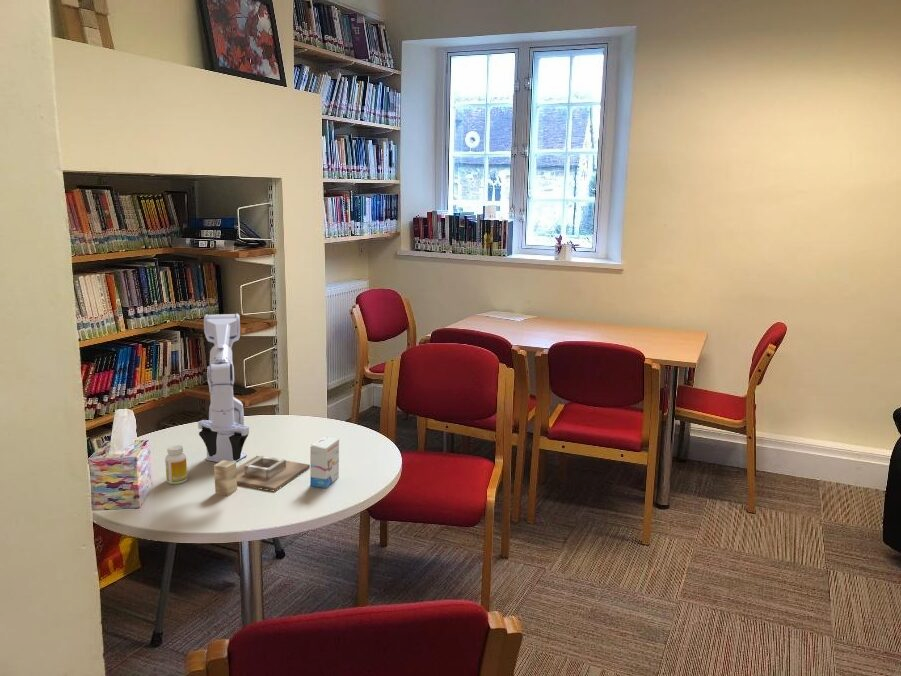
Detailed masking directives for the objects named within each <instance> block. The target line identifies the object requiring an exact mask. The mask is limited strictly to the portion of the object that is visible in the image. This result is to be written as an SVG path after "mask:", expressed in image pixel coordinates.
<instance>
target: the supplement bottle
mask: <svg viewBox="0 0 901 676" xmlns="http://www.w3.org/2000/svg"><path fill="white" fill-rule="evenodd" d="M166 450H167V454H166V456H165V458H164V461H165V476H166V482H167V483H168V484H170V485H178V484H179V485H180V484H182V483H185V482H186V481H187V480H188V471H187V470H188V468H187V465H188V464H187V455H186V454H185V452H184V447H183V446H182V445H180V444H176V445H175V444H174V445H169V446H168V447H167V449H166Z"/></svg>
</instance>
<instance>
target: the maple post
mask: <svg viewBox="0 0 901 676" xmlns="http://www.w3.org/2000/svg"><path fill="white" fill-rule="evenodd" d="M236 468H237V462H231V461H226V460H223V461H221V462H216V464H214V465H213V469H214V490H215V491H214V492H215V493H216V495H221V494H222V495H221V496H227V497H228V495H229V496H230V495H232V494H233V492H234V493H235V492H236V490H237V491H238V485H237V474H236ZM215 493H214V494H215Z"/></svg>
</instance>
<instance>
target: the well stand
mask: <svg viewBox="0 0 901 676" xmlns="http://www.w3.org/2000/svg"><path fill="white" fill-rule="evenodd" d="M308 468H309V469H310V464H307V463H301V462H295V461H290V460H286V459H282V458H276V457H270V456H265V455H256V456H254V457H253V458H251V459H249V460H247V461H246V462H243V464H241V465H239V466H236V474H237V486H242V485H243V486H244V487H248V486H249V487H248V488H253V487H255V488H254V489H258V488H262V489H261V490H264V489H268V490H267V491H269V490H274V491H276V490H277V489H278V490H280V489H281V488H283V487H285V486H286V485H287V484H289V483H290V482H291V480H292V481H293V480H294V479H296V478H297V477H299V476H301V475H302V474H303V473H304V471H305V472H306V471H307V470H309V469H308ZM301 473H302V474H301ZM298 475H299V476H298ZM288 482H289V483H288ZM285 484H286V485H285ZM243 486H242V487H243ZM282 486H283V487H282ZM280 487H281V488H280ZM279 488H280V489H279ZM278 490H277V491H278ZM274 491H273V492H274ZM277 491H276V492H277Z"/></svg>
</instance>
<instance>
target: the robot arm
mask: <svg viewBox="0 0 901 676" xmlns="http://www.w3.org/2000/svg"><path fill="white" fill-rule="evenodd" d="M240 317H241V316H240V314H239V313H228V314H227V313H223V314H222V313H221V314H208V313H207V314H205V315H204V316H203V331H204V335H205V338H206V340H207V342H209V343H213V345H214V346H212V348H211V349H210V351H209V365H208V366H207V367H206V368H207V370H206V372H207V373H206V376H207V384H208V390H209V391H208V392H209V394H210V395H209V396H210V405H209V406H208V408H209V409H208V410H209V411H208V420H207V419H202V420H200V421H197V425H198V427H197V428H198V429H199V430H201V431H199V432H198V436H199V437H200V438H201V440H202V441H203V443H204V446H205V447H206V457H205V458H204V460H205V461H209V462H216V463H219V462H221V461H223V460H226V461H231V462H236V463H237V462H238V461H240V460H242V459H243V458H245V457H247V456H248V454H247V453H243V452H242V450H243V447H244V445H245V443H246V440H247V438H248V437H249V434H250V427H249V426H247V425H245V414H244V413H245V412H244V404H243V402H242V401H241V400H239V399H238V398H236V397H235V396H234V383H235V366H234V363H233V344H234V343H235V342H237V341H240V337H241V320H240V319H241V318H240Z"/></svg>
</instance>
